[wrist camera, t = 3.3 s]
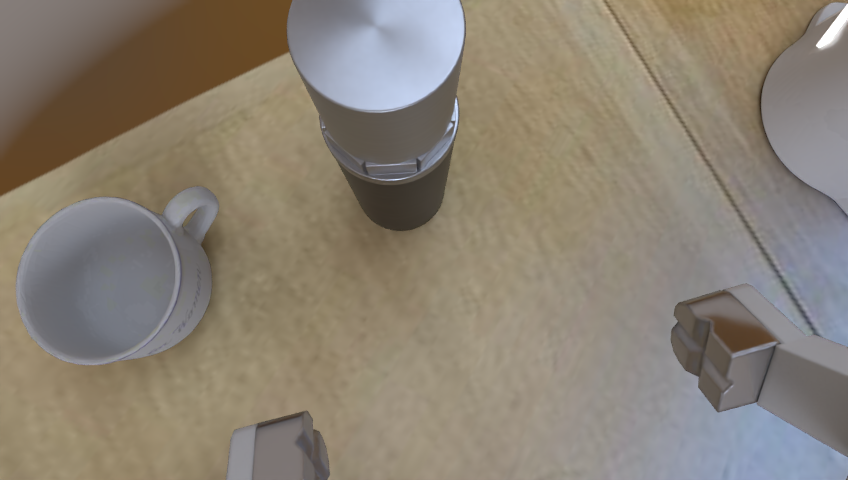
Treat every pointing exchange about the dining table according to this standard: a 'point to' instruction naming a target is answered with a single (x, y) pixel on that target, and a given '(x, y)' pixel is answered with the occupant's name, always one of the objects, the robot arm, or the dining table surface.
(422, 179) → the thermos
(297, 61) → the silver metal cylinder
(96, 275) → the teacup
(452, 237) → the dining table surface
